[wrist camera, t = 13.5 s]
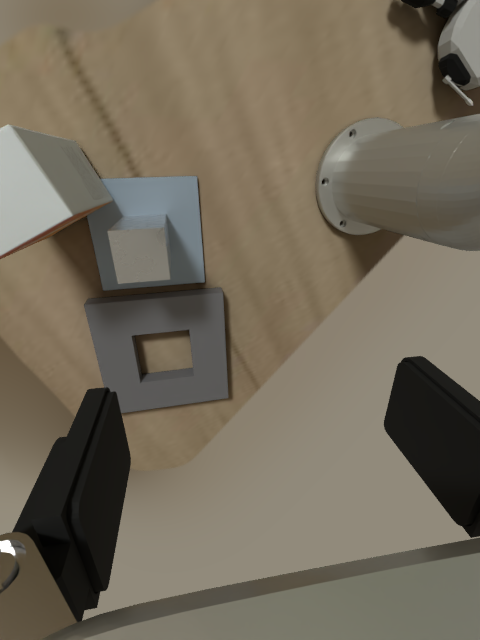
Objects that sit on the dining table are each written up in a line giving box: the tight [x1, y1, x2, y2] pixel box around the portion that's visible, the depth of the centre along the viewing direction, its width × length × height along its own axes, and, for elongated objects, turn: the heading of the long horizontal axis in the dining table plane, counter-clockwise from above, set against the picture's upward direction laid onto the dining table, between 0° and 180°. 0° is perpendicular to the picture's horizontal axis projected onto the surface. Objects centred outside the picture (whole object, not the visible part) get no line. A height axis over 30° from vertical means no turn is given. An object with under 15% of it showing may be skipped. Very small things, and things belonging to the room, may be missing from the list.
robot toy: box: [401, 0, 480, 106], centre depth 31 cm, size 12×4×15 cm
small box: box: [0, 125, 113, 259], centre depth 27 cm, size 8×6×13 cm
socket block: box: [84, 287, 228, 413], centre depth 42 cm, size 16×16×2 cm
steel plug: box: [107, 214, 171, 284], centre depth 32 cm, size 4×4×10 cm
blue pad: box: [87, 176, 205, 291], centre depth 36 cm, size 12×12×1 cm
